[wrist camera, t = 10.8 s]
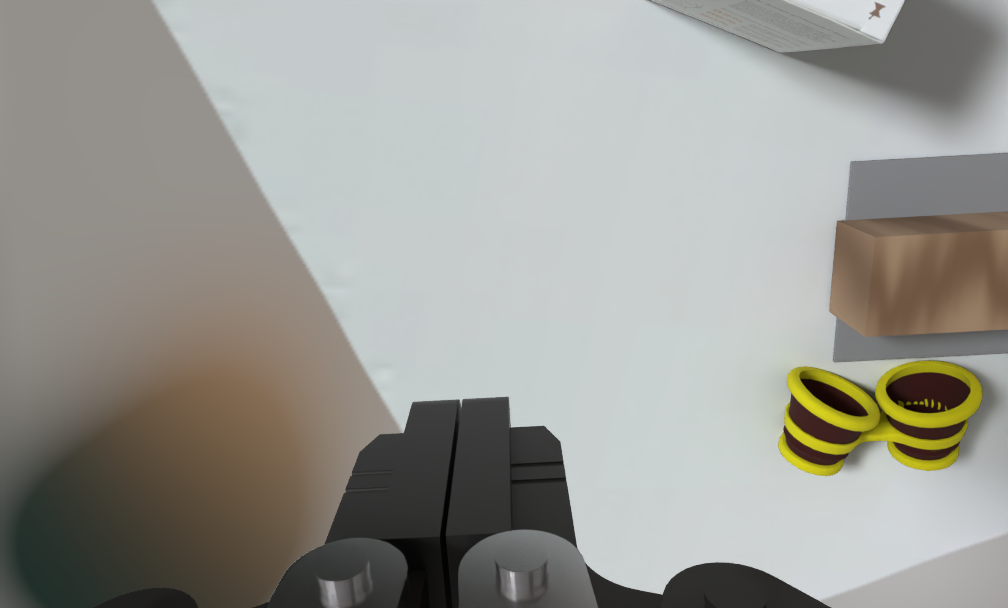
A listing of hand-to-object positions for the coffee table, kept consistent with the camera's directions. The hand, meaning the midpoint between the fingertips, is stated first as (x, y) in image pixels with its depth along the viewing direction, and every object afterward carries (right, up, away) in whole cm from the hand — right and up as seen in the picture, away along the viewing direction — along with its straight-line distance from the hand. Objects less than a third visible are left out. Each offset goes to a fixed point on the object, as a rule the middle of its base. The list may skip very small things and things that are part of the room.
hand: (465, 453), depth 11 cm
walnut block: (+18, +4, +25) cm, 31 cm away
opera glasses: (+21, -3, +30) cm, 36 cm away
